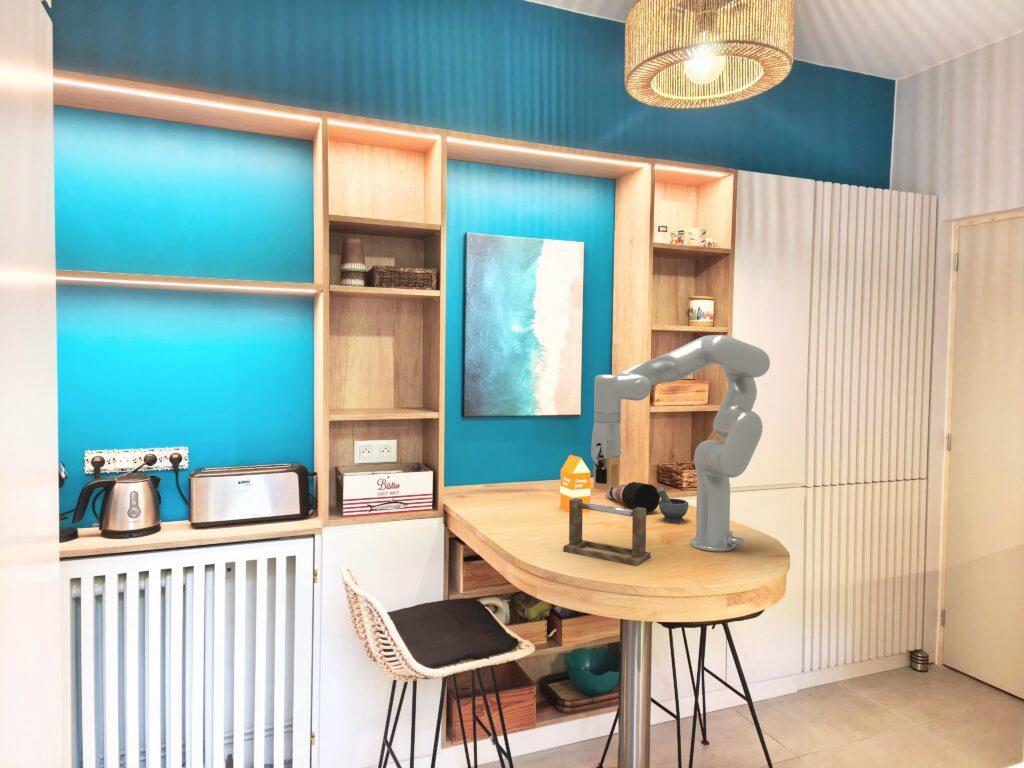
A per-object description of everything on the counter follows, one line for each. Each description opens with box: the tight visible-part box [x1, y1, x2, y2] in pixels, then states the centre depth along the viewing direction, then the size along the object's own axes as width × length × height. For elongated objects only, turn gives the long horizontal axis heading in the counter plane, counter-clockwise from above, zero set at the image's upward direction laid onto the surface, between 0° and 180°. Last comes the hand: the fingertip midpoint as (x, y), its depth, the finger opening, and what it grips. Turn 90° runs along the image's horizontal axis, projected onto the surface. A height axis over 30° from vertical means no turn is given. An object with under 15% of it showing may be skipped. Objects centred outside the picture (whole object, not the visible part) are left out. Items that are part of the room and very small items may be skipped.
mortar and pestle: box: [657, 486, 689, 525], centre depth 224 cm, size 11×9×12 cm
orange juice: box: [559, 454, 591, 514], centre depth 240 cm, size 8×9×20 cm
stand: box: [562, 498, 652, 567], centre depth 186 cm, size 23×9×14 cm, turn 55°
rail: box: [578, 502, 633, 518], centre depth 186 cm, size 21×2×2 cm, turn 55°
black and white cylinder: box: [604, 481, 661, 514], centre depth 250 cm, size 10×34×10 cm, turn 16°
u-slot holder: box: [593, 455, 621, 491], centre depth 186 cm, size 5×6×9 cm
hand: (606, 480), depth 186 cm, fingers closed on u-slot holder, 6 cm apart
